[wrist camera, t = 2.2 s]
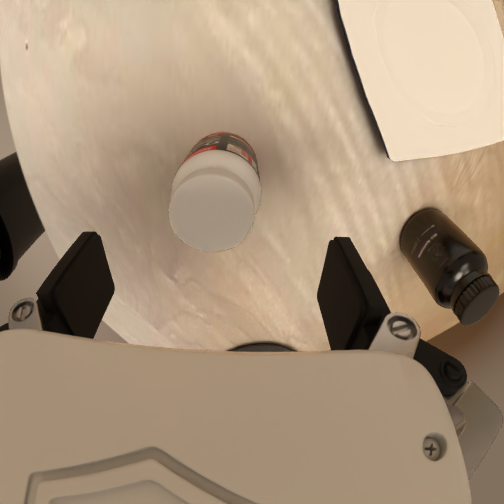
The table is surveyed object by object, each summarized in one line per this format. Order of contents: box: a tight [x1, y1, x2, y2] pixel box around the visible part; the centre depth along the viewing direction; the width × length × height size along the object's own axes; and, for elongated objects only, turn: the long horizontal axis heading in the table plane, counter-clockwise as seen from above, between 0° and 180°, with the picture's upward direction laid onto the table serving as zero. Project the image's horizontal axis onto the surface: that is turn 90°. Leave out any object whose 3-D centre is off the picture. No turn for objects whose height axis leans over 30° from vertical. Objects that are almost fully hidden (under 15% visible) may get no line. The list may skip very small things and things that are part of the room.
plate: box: [336, 0, 504, 162], centre depth 15 cm, size 20×20×3 cm
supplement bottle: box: [401, 209, 499, 325], centre depth 23 cm, size 7×7×12 cm
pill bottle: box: [168, 133, 261, 252], centre depth 19 cm, size 6×6×10 cm
